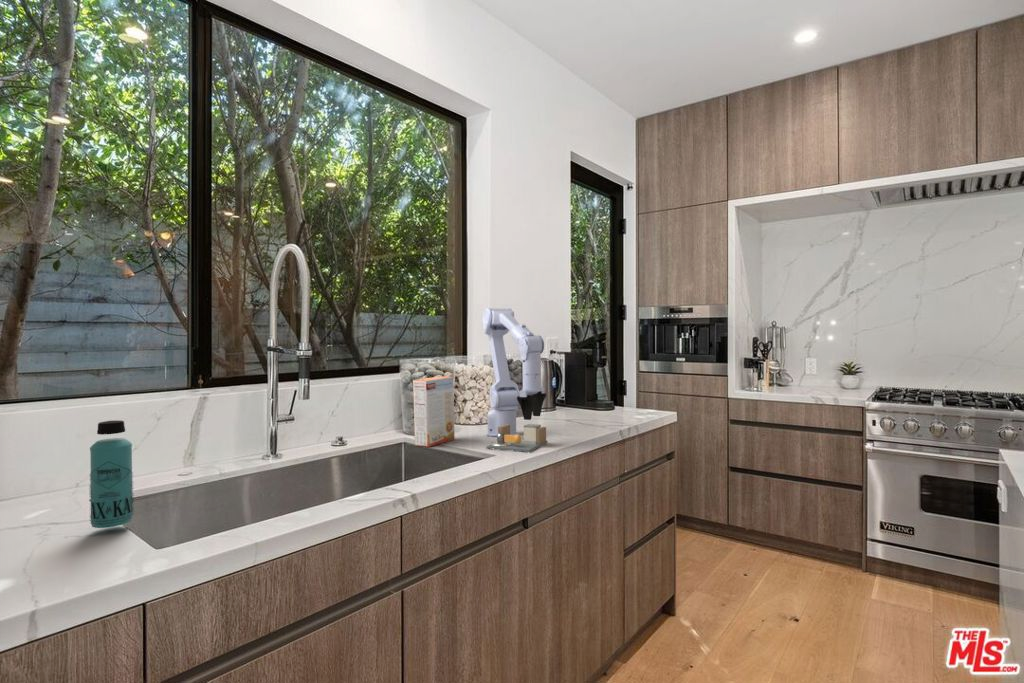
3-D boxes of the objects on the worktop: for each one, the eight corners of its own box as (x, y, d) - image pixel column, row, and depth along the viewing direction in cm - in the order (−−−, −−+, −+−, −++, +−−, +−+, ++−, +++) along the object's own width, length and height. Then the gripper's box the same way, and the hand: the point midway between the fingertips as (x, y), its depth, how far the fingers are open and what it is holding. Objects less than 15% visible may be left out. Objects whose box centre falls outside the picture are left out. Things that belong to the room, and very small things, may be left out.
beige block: (523, 441, 173) (523, 425, 173) (528, 439, 177) (528, 423, 177) (536, 442, 171) (536, 426, 171) (541, 440, 175) (541, 424, 175)
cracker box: (440, 438, 187) (440, 375, 186) (455, 439, 183) (454, 376, 183) (413, 445, 175) (412, 379, 174) (428, 447, 171) (427, 379, 171)
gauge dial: (488, 445, 169) (487, 434, 169) (496, 442, 175) (496, 431, 175) (505, 447, 167) (505, 435, 167) (514, 443, 172) (513, 432, 172)
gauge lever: (503, 441, 169) (503, 433, 169) (507, 440, 171) (506, 432, 171) (518, 443, 166) (518, 435, 166) (522, 442, 167) (522, 434, 167)
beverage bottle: (87, 530, 101) (84, 421, 101) (130, 521, 106) (128, 417, 106) (93, 539, 97) (90, 425, 96) (138, 530, 101) (136, 420, 101)
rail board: (486, 448, 169) (486, 431, 168) (507, 439, 182) (507, 423, 182) (529, 452, 163) (529, 434, 163) (547, 443, 176) (547, 426, 176)
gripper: (534, 376, 166) (535, 421, 166) (551, 373, 179) (552, 415, 179) (513, 376, 168) (513, 420, 169) (531, 372, 182) (531, 414, 182)
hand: (532, 417), depth 174 cm, fingers open, 7 cm apart
